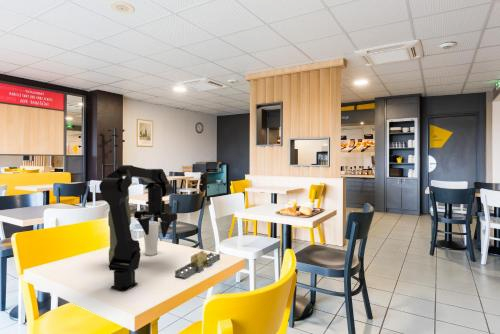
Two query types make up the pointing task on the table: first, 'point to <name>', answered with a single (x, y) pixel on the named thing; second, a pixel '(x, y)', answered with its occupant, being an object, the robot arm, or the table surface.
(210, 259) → the chain end
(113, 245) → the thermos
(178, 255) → the table surface
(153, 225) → the drinking glass
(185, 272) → the chain end
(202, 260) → the link
